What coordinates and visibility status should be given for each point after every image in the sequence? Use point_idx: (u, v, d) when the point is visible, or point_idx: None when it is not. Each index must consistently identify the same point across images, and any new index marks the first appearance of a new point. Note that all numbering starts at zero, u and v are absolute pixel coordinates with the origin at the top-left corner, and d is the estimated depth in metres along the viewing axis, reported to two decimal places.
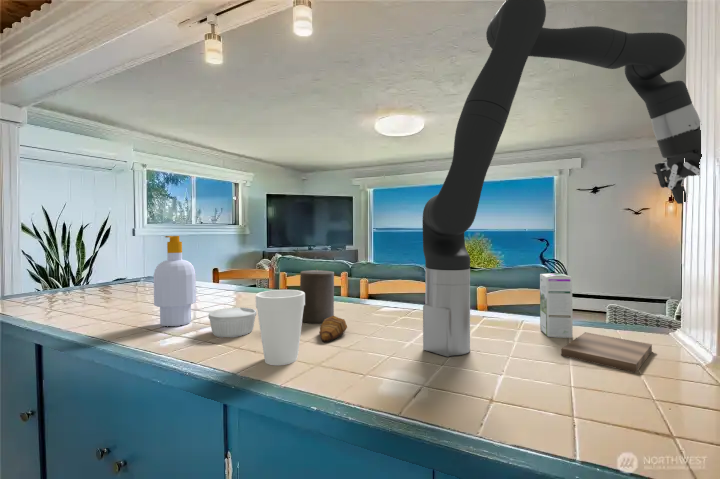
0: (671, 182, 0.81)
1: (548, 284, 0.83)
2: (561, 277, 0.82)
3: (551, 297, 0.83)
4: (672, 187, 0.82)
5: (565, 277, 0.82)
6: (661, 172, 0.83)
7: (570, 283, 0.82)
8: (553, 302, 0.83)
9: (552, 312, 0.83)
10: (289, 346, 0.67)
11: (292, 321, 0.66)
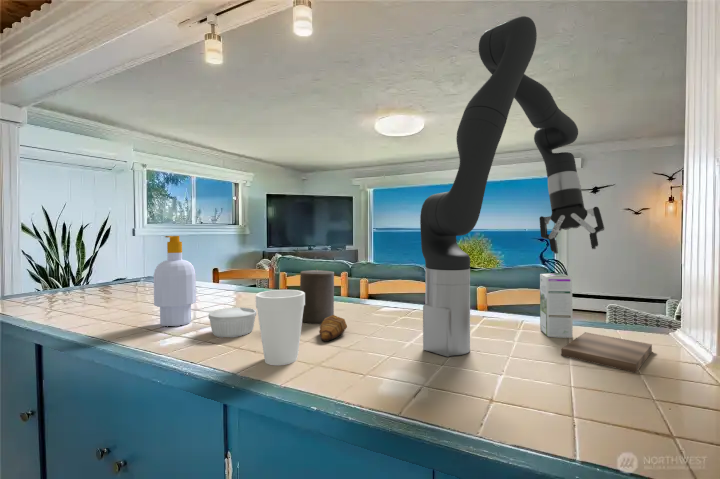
0: (552, 232, 0.94)
1: (548, 284, 0.83)
2: (561, 277, 0.82)
3: (551, 297, 0.83)
4: (552, 237, 0.94)
5: (565, 277, 0.82)
6: (544, 224, 0.96)
7: (570, 283, 0.82)
8: (553, 302, 0.83)
9: (552, 312, 0.83)
10: (289, 346, 0.67)
11: (292, 321, 0.66)
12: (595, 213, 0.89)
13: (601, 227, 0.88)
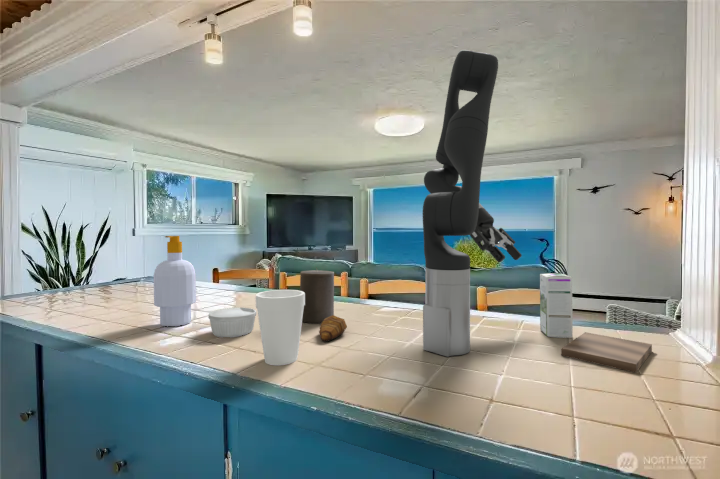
0: (492, 241, 0.93)
1: (548, 284, 0.83)
2: (561, 277, 0.82)
3: (551, 297, 0.83)
4: (494, 244, 0.92)
5: (565, 277, 0.82)
6: None
7: (570, 283, 0.82)
8: (553, 302, 0.83)
9: (552, 312, 0.83)
10: (289, 346, 0.67)
11: (292, 321, 0.66)
12: (504, 232, 1.01)
13: (514, 241, 0.99)
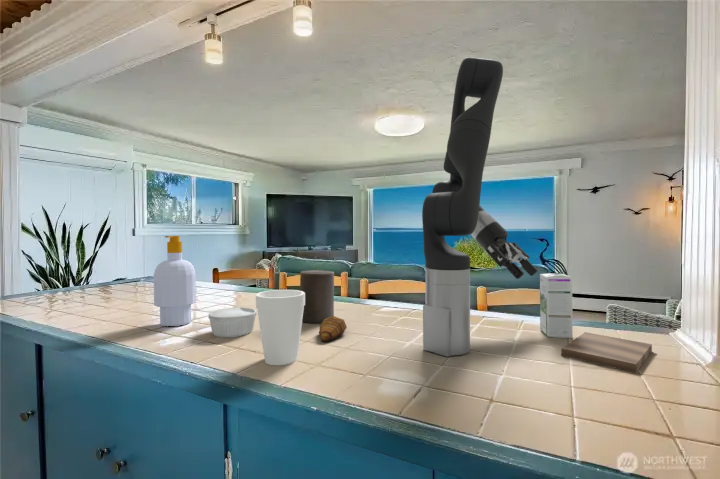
0: (509, 257, 0.89)
1: (548, 284, 0.83)
2: (561, 277, 0.82)
3: (551, 297, 0.83)
4: (512, 260, 0.89)
5: (565, 277, 0.82)
6: None
7: (570, 283, 0.82)
8: (553, 302, 0.83)
9: (552, 312, 0.83)
10: (289, 346, 0.67)
11: (292, 321, 0.66)
12: (517, 246, 0.98)
13: (528, 256, 0.96)
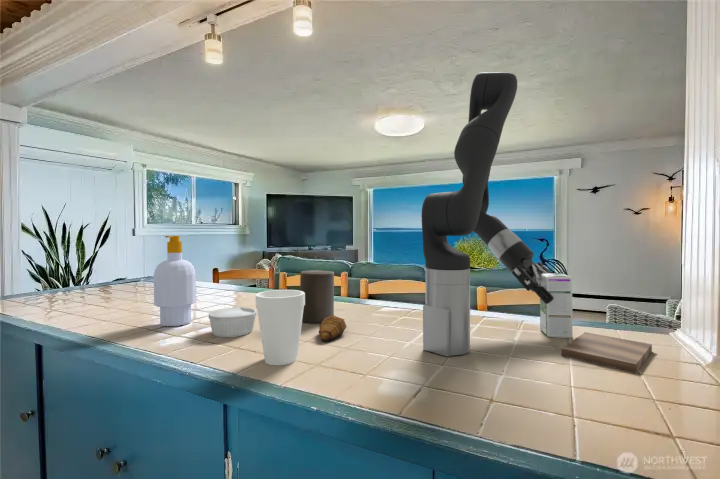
0: (537, 280, 0.84)
1: (548, 284, 0.83)
2: (561, 277, 0.82)
3: None
4: (540, 284, 0.84)
5: (565, 277, 0.82)
6: None
7: (570, 283, 0.82)
8: (553, 302, 0.83)
9: (552, 312, 0.83)
10: (289, 346, 0.67)
11: (292, 321, 0.66)
12: (543, 266, 0.93)
13: None
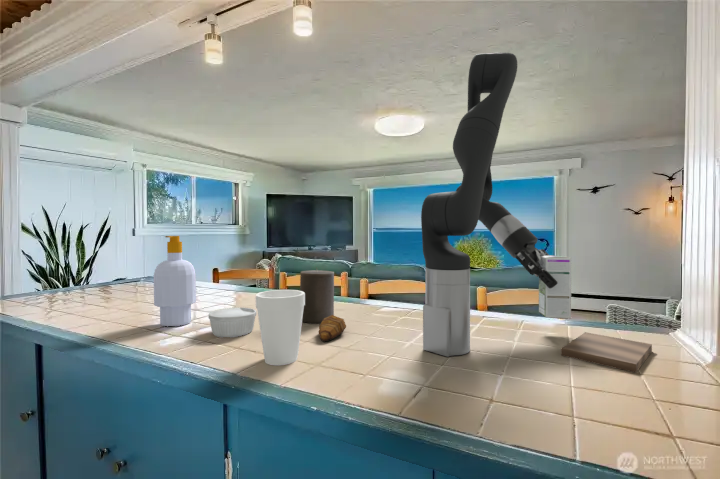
0: (541, 264, 0.84)
1: (547, 265, 0.83)
2: (560, 258, 0.82)
3: None
4: (544, 268, 0.83)
5: (564, 258, 0.82)
6: None
7: (569, 264, 0.82)
8: None
9: (551, 293, 0.83)
10: (289, 346, 0.67)
11: (292, 321, 0.66)
12: (546, 253, 0.92)
13: None
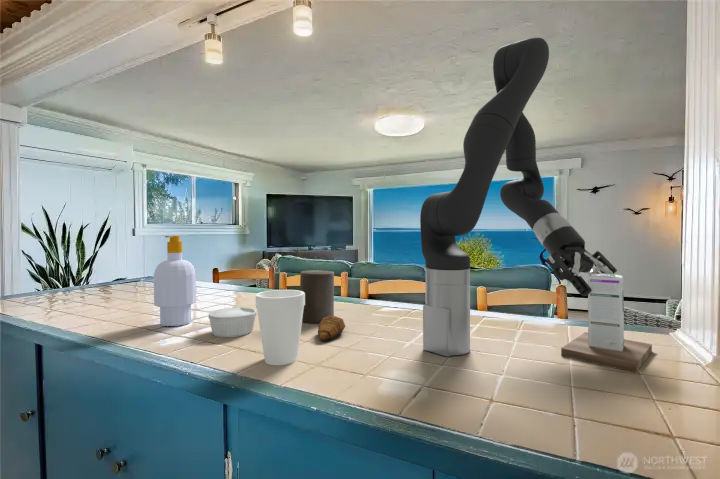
0: (575, 269, 0.74)
1: (590, 285, 0.71)
2: (607, 278, 0.69)
3: (594, 300, 0.71)
4: (578, 273, 0.73)
5: (612, 278, 0.69)
6: None
7: (619, 285, 0.68)
8: (596, 306, 0.70)
9: (595, 318, 0.71)
10: (289, 346, 0.67)
11: (292, 321, 0.66)
12: (601, 256, 0.79)
13: (615, 269, 0.77)
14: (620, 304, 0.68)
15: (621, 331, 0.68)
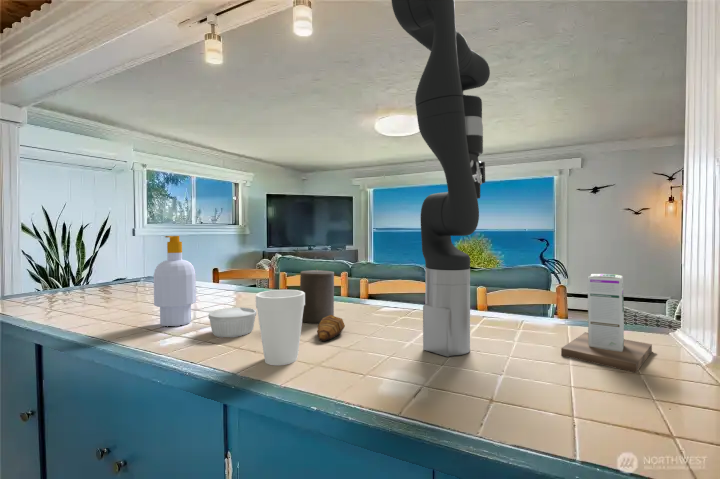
0: None
1: (590, 285, 0.71)
2: (607, 278, 0.69)
3: (594, 301, 0.71)
4: None
5: (612, 278, 0.69)
6: None
7: (619, 286, 0.68)
8: (596, 307, 0.70)
9: (595, 318, 0.71)
10: (289, 346, 0.67)
11: (292, 321, 0.66)
12: (483, 167, 0.98)
13: (484, 181, 0.99)
14: (620, 304, 0.68)
15: (621, 331, 0.68)
